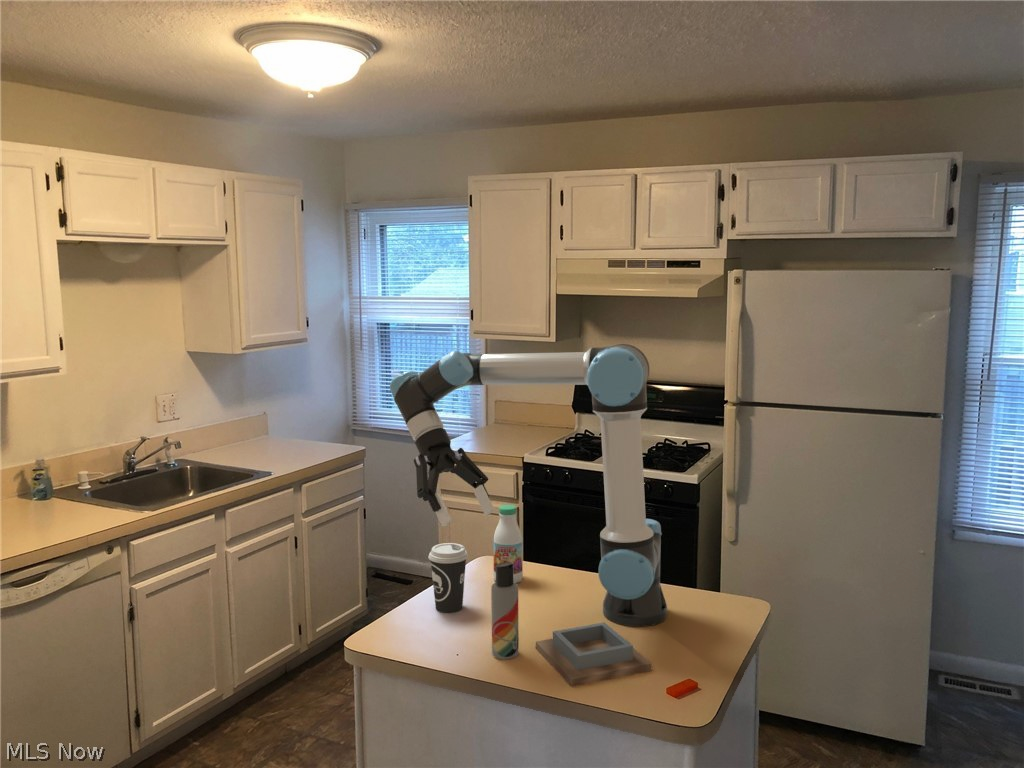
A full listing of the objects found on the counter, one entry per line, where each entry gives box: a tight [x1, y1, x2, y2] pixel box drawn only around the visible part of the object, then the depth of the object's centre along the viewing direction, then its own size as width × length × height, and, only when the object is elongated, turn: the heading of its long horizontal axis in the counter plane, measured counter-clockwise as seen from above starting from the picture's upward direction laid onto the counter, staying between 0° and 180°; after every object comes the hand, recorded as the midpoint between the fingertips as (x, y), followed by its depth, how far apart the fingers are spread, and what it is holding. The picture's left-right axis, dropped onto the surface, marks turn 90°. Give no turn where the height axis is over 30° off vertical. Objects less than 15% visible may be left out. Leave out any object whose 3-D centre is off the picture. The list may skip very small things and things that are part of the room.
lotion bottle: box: [490, 562, 520, 660], centre depth 169 cm, size 6×6×20 cm
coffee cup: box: [427, 542, 469, 614], centre depth 194 cm, size 10×10×15 cm
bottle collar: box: [552, 622, 634, 671], centre depth 168 cm, size 12×12×3 cm
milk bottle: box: [493, 504, 524, 584], centre depth 212 cm, size 8×8×20 cm
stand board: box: [535, 638, 653, 688], centre depth 168 cm, size 18×18×2 cm
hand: (469, 518), depth 175 cm, fingers open, 13 cm apart
